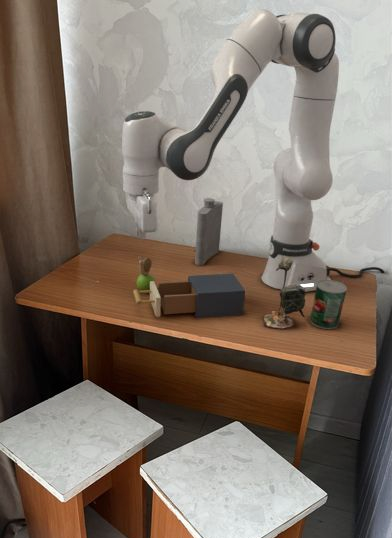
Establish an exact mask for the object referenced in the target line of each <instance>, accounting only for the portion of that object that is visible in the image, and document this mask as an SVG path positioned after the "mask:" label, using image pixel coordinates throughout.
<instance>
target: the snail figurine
mask: <svg viewBox="0 0 392 538" xmlns="http://www.w3.org/2000/svg"><path fill="white" fill-rule="evenodd" d="M138 266H139V272H140V274H139V276H138V277H137V279H136V287H137V289H139V291H143V290H150V281H154V282H155V283H156V280H155V277H154V276H153V275H152V274H150V272H151V268H152V259H151V258H150V257H148V256H147V257H145V258H143V257H142V256H138Z"/></svg>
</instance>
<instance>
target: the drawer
mask: <svg viewBox="0 0 392 538" xmlns="http://www.w3.org/2000/svg"><path fill="white" fill-rule="evenodd" d="M157 287H158V288H157ZM132 292H133V297H134V299H135V303H136V305H137V306H141V305H142V304H151V307H152V309H153V312H154V316H155V317H156V318H159V317H161V309H162V312H163V314H164V315H175V314H188V313H189V314H190V313H194V312H196V304H197V293H196V292H195V290H194V288H193V286H192V284H191V282H190V281H188V280H177V281H176V280H175V281H160V282H158V286H157V285H156V281H155V282H154V281H150V290H143V291H141V290H138V288H137V289H136V288H135V289H133V291H132ZM141 294H149V299H146V300H145V299H144V300H142V298H141V296H140V295H141Z"/></svg>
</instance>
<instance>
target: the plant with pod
mask: <svg viewBox="0 0 392 538" xmlns="http://www.w3.org/2000/svg"><path fill="white" fill-rule="evenodd" d="M292 264H293V260H291V259H290V258H288V257H287V256H283V258H282V260H281V261H280V262H279V264H278V266H279V267H278V268H277V269H276V271H278V270H279V269H282V270H285V277H284V285H283V289H282V290H281V289H280V292H279V297H280V302H279V308H278V310H277V311H276V310H272V311H271V313H269V314H266V315H265V314H264V315H263V316H262V318H263V325H264V326H265V327H270V328H277V329H281V330H283V329H285V328H291V327H295V324H294V321H293V318H292V317H291V316H289V315H291V314H293V313H297V312H299V314H300V316H302V318H304V319H305V316H306V315H305V314H304V312H303V309H304V308H305V306H306V298H305V297H306V292H305V289H306V288H305V289H304V287H303V286H301V285H300V284H297V285H289V286H286V287H285V288H284V286H285V282H286V276H287V271H288V270H289V269H290V268H291V266H292ZM281 309H282V311H283V312H281Z"/></svg>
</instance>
